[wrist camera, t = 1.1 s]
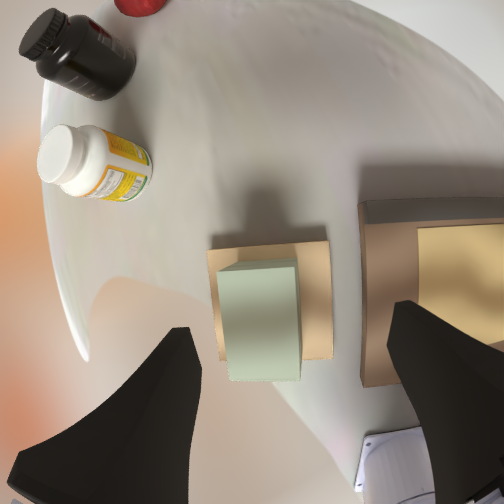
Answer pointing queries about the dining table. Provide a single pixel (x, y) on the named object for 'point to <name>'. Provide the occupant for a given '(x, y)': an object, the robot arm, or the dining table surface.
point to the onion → (139, 7)
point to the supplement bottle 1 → (78, 54)
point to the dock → (430, 270)
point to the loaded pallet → (309, 288)
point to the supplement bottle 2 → (93, 163)
